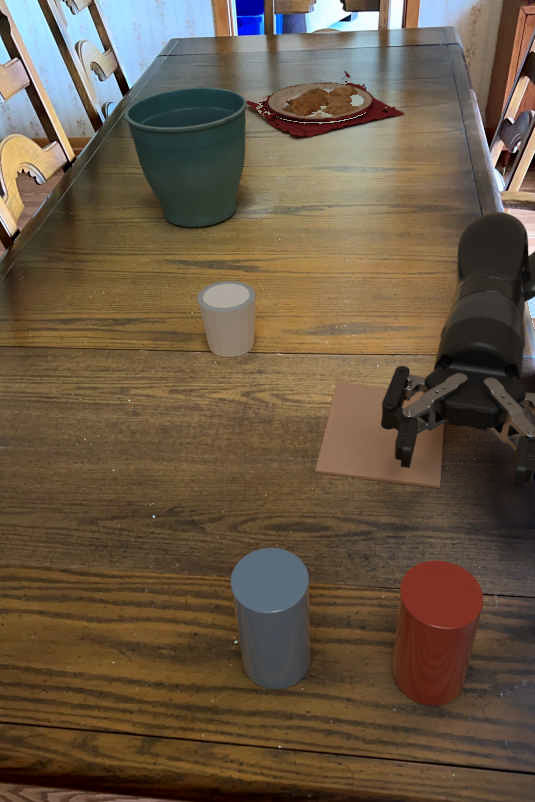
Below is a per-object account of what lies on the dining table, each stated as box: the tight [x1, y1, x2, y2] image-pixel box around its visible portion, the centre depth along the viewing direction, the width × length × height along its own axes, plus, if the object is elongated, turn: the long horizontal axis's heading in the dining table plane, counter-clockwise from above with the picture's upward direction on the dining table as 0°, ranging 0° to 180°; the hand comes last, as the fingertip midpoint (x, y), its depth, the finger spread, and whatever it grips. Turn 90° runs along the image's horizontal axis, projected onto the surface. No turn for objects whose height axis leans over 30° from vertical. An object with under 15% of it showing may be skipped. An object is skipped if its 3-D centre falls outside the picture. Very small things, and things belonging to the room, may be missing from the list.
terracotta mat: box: [314, 382, 445, 489], centre depth 74 cm, size 12×14×1 cm
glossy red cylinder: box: [391, 559, 484, 707], centre depth 51 cm, size 5×5×10 cm
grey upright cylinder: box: [230, 547, 312, 690], centre depth 52 cm, size 5×5×10 cm
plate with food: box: [246, 70, 405, 138], centre depth 150 cm, size 24×26×4 cm
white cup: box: [196, 280, 256, 358], centre depth 86 cm, size 7×7×7 cm
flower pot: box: [124, 87, 248, 228], centre depth 112 cm, size 18×18×17 cm
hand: (460, 469), depth 55 cm, fingers open, 8 cm apart
